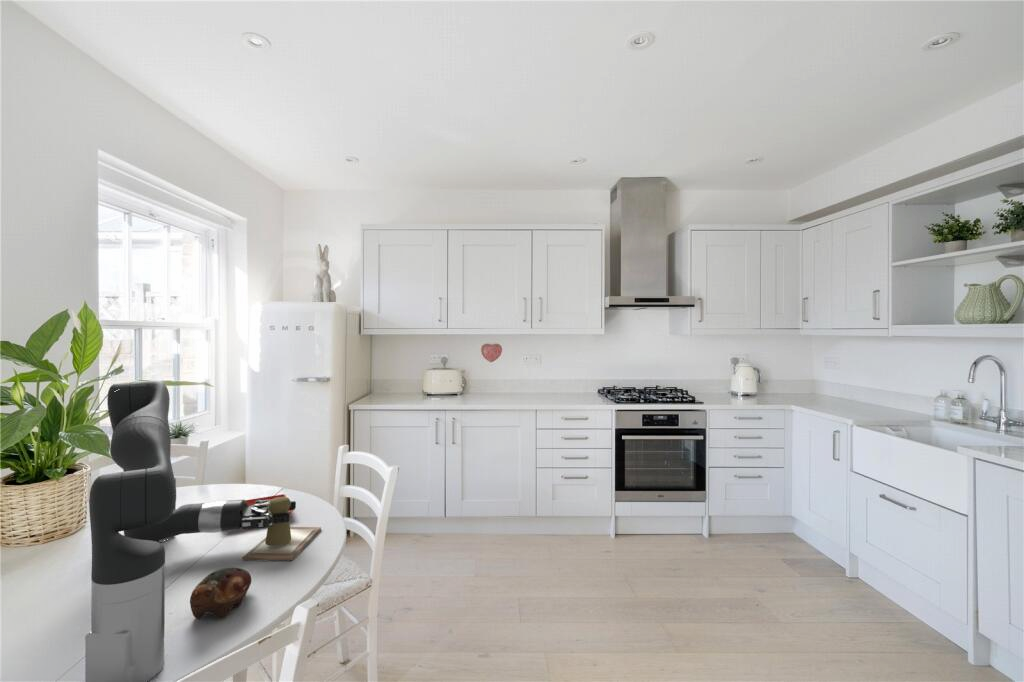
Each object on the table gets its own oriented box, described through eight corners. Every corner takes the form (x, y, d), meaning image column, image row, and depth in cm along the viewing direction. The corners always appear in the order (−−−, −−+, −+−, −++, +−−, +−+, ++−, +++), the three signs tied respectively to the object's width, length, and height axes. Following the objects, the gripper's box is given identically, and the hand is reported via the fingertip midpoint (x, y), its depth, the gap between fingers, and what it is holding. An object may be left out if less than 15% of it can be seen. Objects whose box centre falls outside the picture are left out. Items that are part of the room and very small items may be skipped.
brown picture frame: (291, 560, 114) (291, 556, 114) (242, 560, 113) (242, 556, 113) (320, 529, 132) (321, 526, 132) (278, 529, 131) (278, 525, 131)
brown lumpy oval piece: (169, 634, 85) (170, 590, 86) (219, 594, 101) (219, 556, 101) (223, 632, 86) (223, 588, 86) (265, 592, 101) (264, 554, 101)
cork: (280, 546, 116) (282, 502, 117) (259, 544, 117) (261, 500, 118) (296, 537, 122) (297, 495, 123) (276, 535, 123) (277, 493, 124)
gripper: (214, 511, 111) (288, 506, 116) (232, 492, 125) (297, 488, 130) (213, 542, 112) (287, 536, 116) (231, 519, 125) (297, 515, 130)
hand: (292, 511), depth 123 cm, fingers open, 8 cm apart
